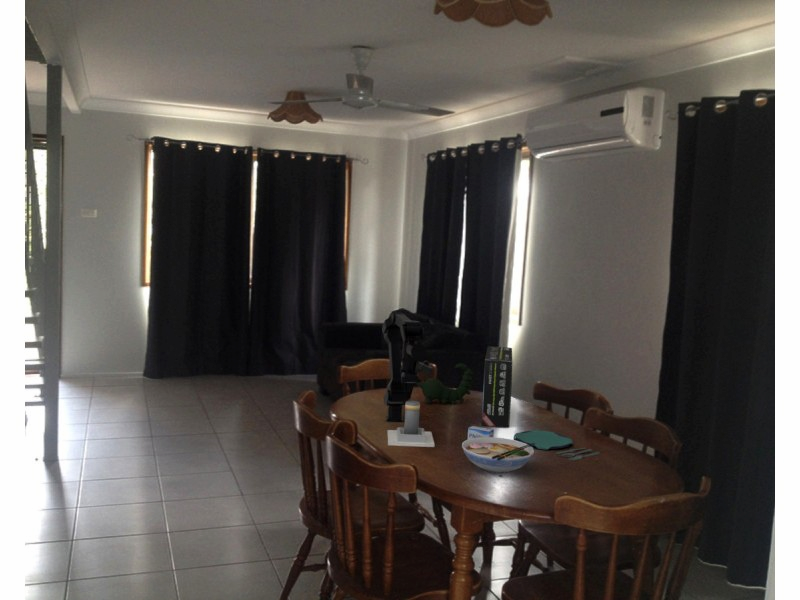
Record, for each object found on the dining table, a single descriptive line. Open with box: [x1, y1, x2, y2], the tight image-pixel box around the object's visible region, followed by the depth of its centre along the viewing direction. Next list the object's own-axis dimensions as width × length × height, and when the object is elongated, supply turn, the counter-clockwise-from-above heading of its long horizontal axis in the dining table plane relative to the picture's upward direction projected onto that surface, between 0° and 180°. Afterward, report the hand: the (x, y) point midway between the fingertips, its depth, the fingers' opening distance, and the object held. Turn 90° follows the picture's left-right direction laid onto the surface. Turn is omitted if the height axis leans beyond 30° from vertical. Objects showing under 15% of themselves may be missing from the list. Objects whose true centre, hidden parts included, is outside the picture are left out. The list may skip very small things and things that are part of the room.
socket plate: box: [387, 427, 435, 448], centre depth 257 cm, size 16×16×4 cm
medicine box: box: [466, 425, 495, 440], centre depth 245 cm, size 8×4×9 cm, turn 62°
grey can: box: [403, 400, 421, 435], centre depth 255 cm, size 5×5×13 cm
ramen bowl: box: [461, 436, 536, 474], centre depth 228 cm, size 25×23×8 cm
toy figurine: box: [416, 363, 474, 405], centre depth 316 cm, size 9×19×25 cm
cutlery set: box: [513, 429, 600, 461], centre depth 258 cm, size 20×30×2 cm, turn 33°
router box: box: [481, 345, 513, 429], centre depth 296 cm, size 36×11×27 cm, turn 172°
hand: (408, 396), depth 267 cm, fingers open, 9 cm apart
